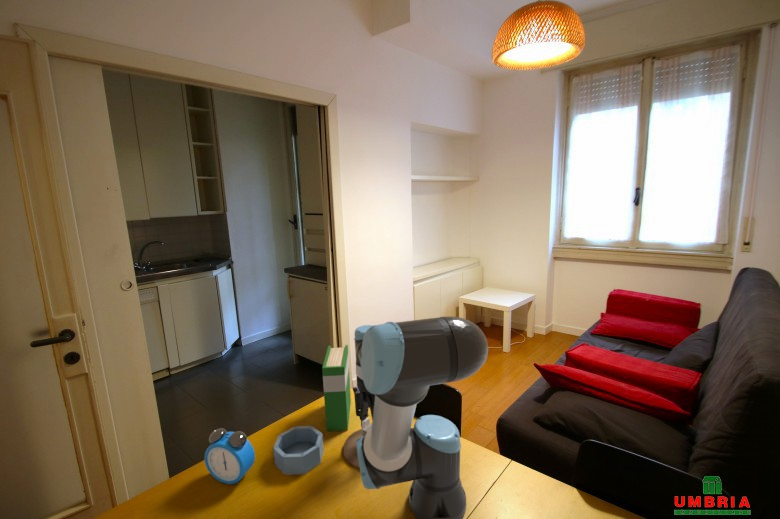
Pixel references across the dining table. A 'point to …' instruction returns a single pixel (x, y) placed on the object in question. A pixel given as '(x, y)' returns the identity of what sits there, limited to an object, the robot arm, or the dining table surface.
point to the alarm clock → (229, 456)
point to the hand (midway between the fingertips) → (371, 440)
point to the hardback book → (336, 388)
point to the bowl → (298, 450)
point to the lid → (354, 445)
